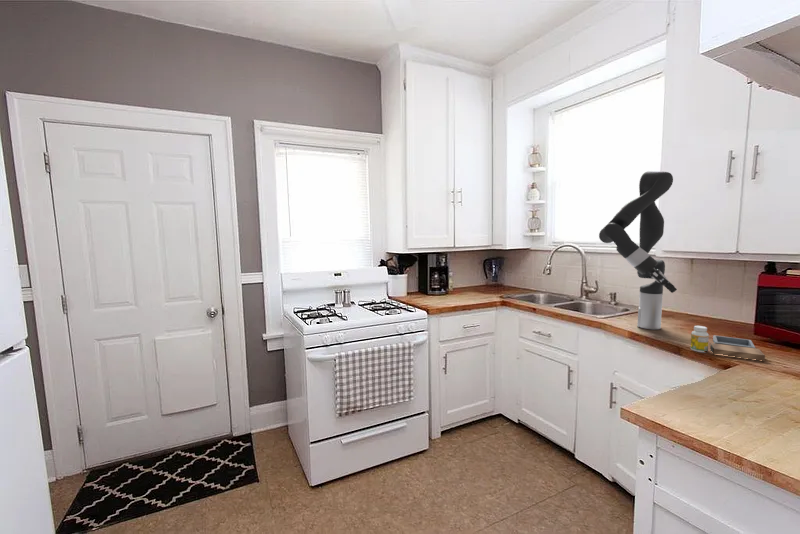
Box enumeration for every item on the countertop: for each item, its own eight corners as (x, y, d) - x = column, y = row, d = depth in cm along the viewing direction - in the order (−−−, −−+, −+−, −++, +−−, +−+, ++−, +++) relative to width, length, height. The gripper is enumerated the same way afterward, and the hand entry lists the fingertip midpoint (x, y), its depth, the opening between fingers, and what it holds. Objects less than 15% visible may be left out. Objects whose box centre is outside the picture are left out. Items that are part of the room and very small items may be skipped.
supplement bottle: (709, 353, 140) (711, 329, 139) (692, 351, 142) (694, 328, 141) (704, 349, 145) (706, 325, 144) (688, 347, 147) (690, 324, 146)
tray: (714, 348, 146) (715, 342, 145) (712, 340, 155) (713, 335, 154) (754, 354, 138) (755, 347, 138) (750, 345, 148) (750, 339, 147)
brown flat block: (713, 355, 138) (713, 348, 138) (709, 348, 145) (709, 342, 145) (764, 361, 131) (765, 355, 130) (758, 355, 137) (758, 348, 137)
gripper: (650, 255, 143) (684, 286, 138) (648, 253, 155) (680, 281, 150) (633, 268, 147) (666, 298, 142) (633, 265, 159) (663, 293, 154)
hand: (673, 289), depth 146 cm, fingers open, 8 cm apart
